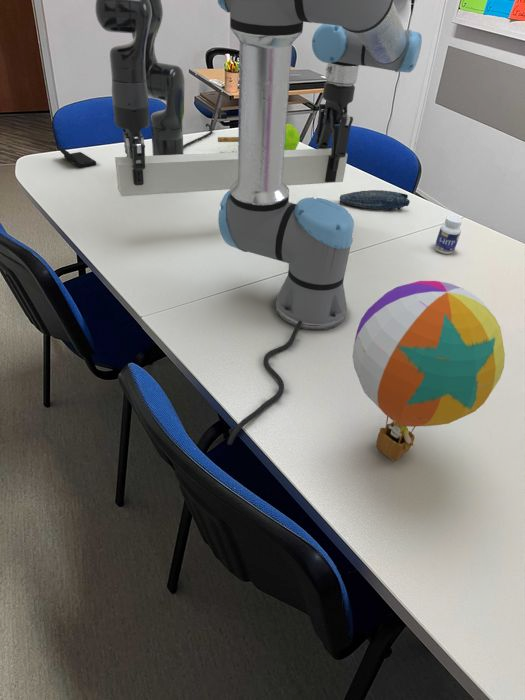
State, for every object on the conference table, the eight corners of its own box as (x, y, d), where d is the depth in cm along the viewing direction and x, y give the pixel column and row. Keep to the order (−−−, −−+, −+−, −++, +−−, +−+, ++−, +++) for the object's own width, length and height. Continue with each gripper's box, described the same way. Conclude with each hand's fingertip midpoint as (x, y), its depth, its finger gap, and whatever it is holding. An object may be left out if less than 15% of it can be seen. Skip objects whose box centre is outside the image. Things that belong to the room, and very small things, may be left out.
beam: (334, 175, 144) (338, 147, 139) (342, 182, 140) (347, 154, 136) (117, 188, 124) (114, 157, 120) (121, 196, 121) (118, 164, 116)
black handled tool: (101, 157, 170) (79, 135, 162) (89, 175, 169) (67, 154, 161) (80, 153, 176) (58, 132, 168) (69, 170, 175) (46, 149, 167)
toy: (305, 441, 83) (335, 280, 64) (382, 391, 94) (427, 241, 75) (403, 527, 72) (474, 363, 53) (477, 460, 83) (558, 303, 64)
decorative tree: (215, 117, 188) (295, 117, 193) (215, 147, 195) (292, 146, 200) (221, 131, 174) (307, 131, 180) (221, 163, 181) (304, 161, 186)
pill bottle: (433, 251, 139) (442, 220, 133) (435, 243, 143) (444, 213, 137) (453, 256, 138) (464, 225, 132) (454, 247, 142) (465, 217, 136)
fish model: (408, 214, 157) (412, 198, 153) (339, 207, 158) (341, 191, 154) (406, 206, 162) (410, 190, 159) (339, 199, 163) (341, 183, 160)
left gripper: (107, 94, 115) (115, 170, 126) (118, 111, 105) (125, 193, 116) (141, 93, 118) (146, 168, 128) (155, 111, 108) (158, 190, 118)
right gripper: (309, 74, 131) (298, 166, 145) (345, 91, 118) (328, 191, 133) (335, 74, 134) (321, 165, 148) (372, 91, 121) (353, 189, 135)
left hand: (136, 179), depth 122 cm, fingers closed on beam, 5 cm apart
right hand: (325, 177), depth 140 cm, fingers closed on beam, 5 cm apart
